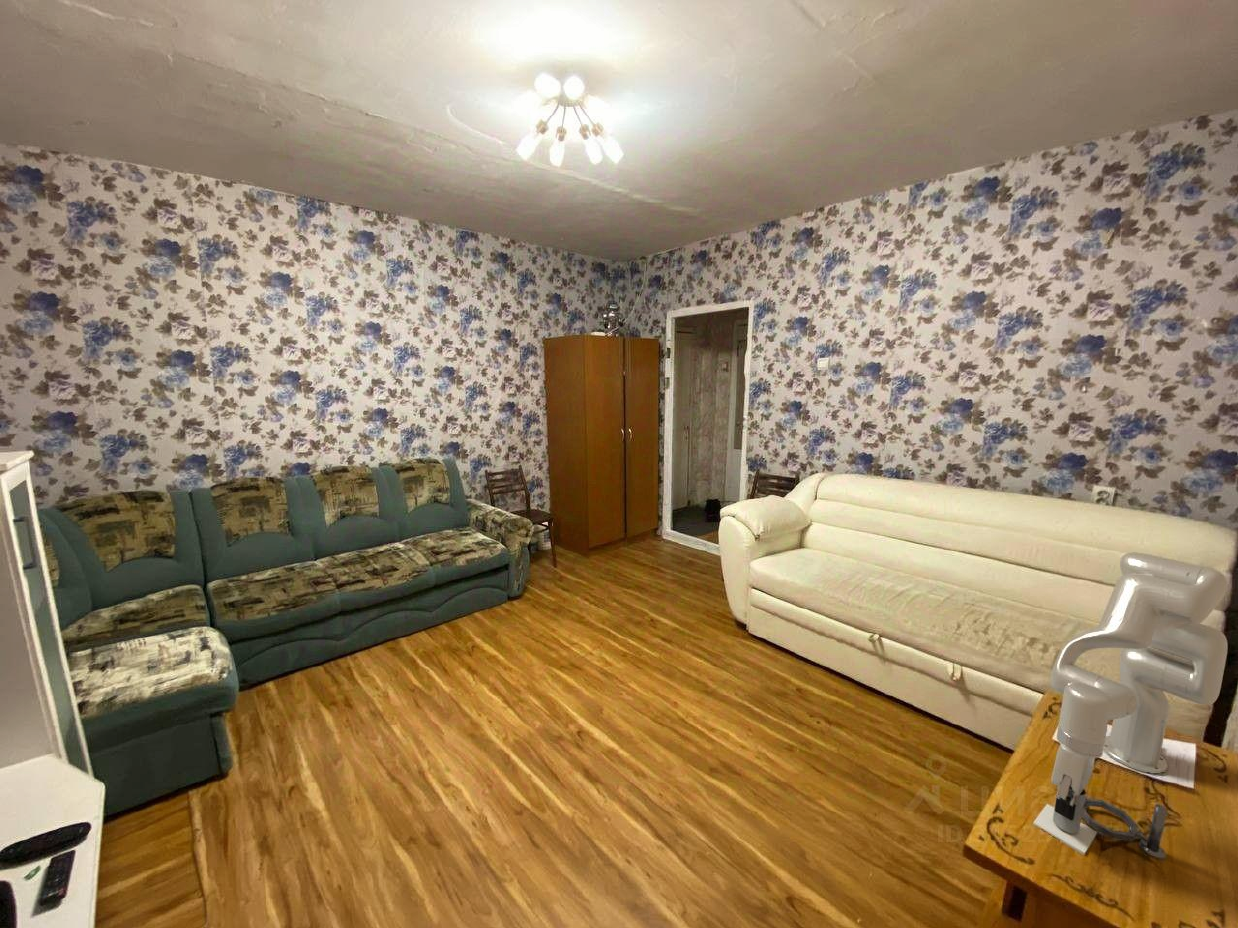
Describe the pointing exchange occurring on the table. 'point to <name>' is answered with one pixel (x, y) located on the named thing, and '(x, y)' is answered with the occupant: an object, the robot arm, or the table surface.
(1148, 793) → the table surface
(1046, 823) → the coaster
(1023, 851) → the table surface
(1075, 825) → the gray hollow cylinder
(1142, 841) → the ring stand
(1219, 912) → the table surface
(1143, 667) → the robot arm
